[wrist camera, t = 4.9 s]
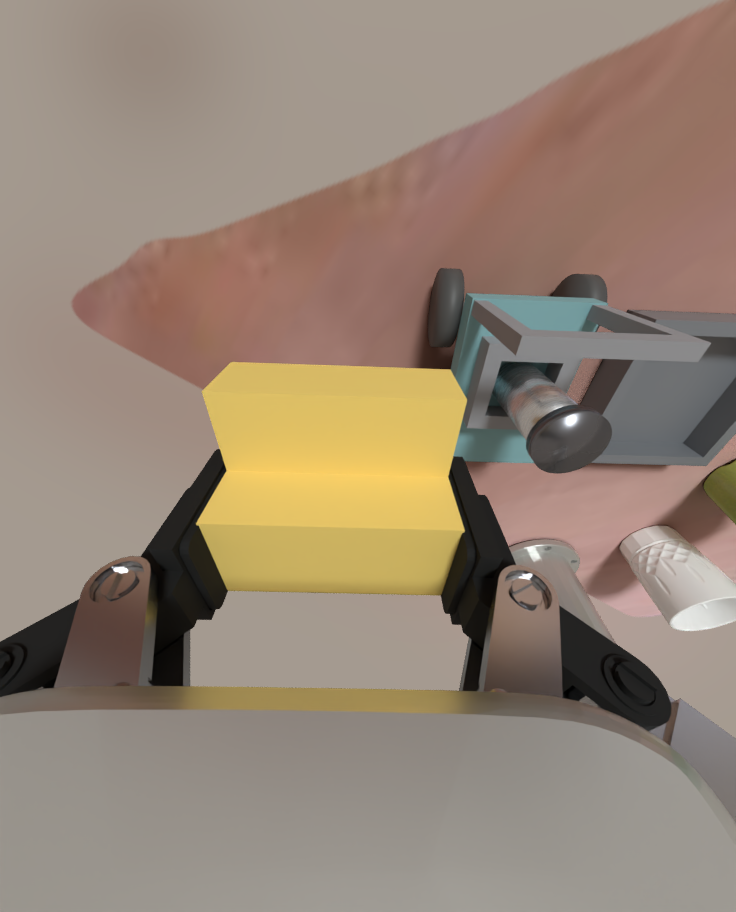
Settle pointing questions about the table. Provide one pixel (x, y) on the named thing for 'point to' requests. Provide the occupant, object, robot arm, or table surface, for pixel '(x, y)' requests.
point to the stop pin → (550, 419)
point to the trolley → (534, 348)
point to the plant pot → (723, 489)
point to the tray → (670, 397)
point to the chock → (334, 478)
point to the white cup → (680, 579)
